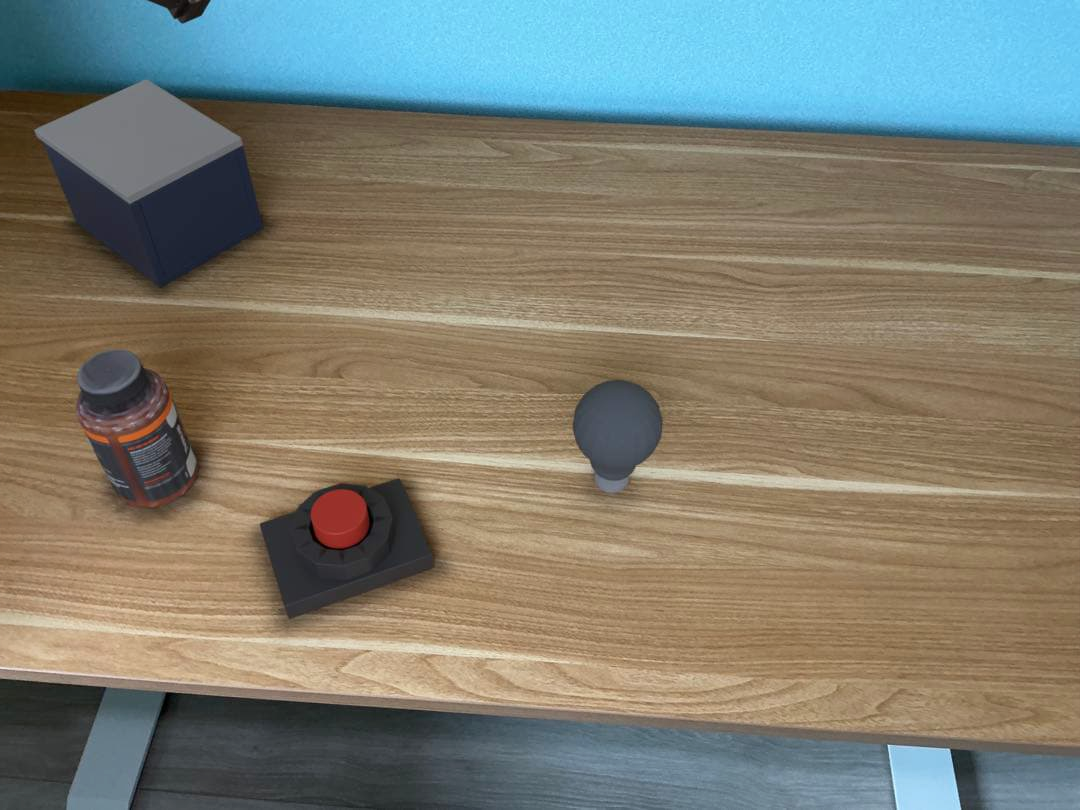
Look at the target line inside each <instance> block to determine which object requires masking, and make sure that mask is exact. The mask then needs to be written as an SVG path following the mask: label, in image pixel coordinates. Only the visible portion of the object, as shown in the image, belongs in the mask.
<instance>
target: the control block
mask: <svg viewBox="0 0 1080 810" xmlns="http://www.w3.org/2000/svg"><path fill="white" fill-rule="evenodd" d="M338 489H346V490H351V491H354V492H356V493H357V494H359V495H360V496H361V497H362V498H363V499H364V501H365V503H366V506H367V511H368V516H369V522H370V523H369V529H368V532H367V534H366V535H365V537H364V538H363V539H362V540H361V541H360V542H358V543H357V544H355V545H353V546H351V547H348V548H343V549H335V548H330V547H327V546H325V545H324V544H322V543H321V542H320V541H319V540H318V539H317V537H316V535H315V531H314V528H313V524H312V520H311V510H312V507H313V505H314V503H315V502H316V500H317V499H318V498H319V497H321V496H322V495H324V494H325V493H327V492H330V491H333V490H338ZM259 528H260V530H261V534H262V537H263V540H264V544H265V547H266V551H267V553H268V557H269V561H270V563H271V567H272V570H273V574H274V577H275V580H276V583H277V587H278V591H279V593H280V598H281V599H282V604H283V607H284V610H285V613H286V615H287V618H288V619H289V620H291V619H294V618H297V617H301V616H303V615H305V614H308V613H311V612H313V611H317V610H320V609H322V608H326V607H328V606H331V605H334V604H336V603H340V602H342V601H345V600H348V599H351V598H353V597H357V596H359V595H362V594H364V593H367V592H370V591H373V590H376V589H378V588H382V587H384V586H387V585H390V584H394V583H395V582H400V581H401V580H404V579H407V578H410V577H412V576H416V575H418V574H421V573H423V572H427V571H430V570H433V569H434V568H435V561H434V554H433V552H432V549H431V547H430V545H429V542H428V539H427V538H426V535H425V532H424V530H423V528H422V526H421V523H420V521H419V519H418V516H417V515H416V512H415V509H414V507H413V505H412V502H411V500H410V498H409V495H408V493H407V491H406V488H405V486H404V484H403V482H402V479H401V478H400V477H397V478H395V479H391V480H389V481H385V482H382V483H379V484H376V485H373V486H367V485H365V484H355V483H345V482H341V483H336V484H333V485H330V486H327V487H325V488H321V489H318V490H316V491H314V492H313V493H312V494H311V495H309V497H307V498H306V499H305V500H304V501H303V502H302V503H300V504H299V505H298V506H297V507H296V510H295V511H293V512H290V513H287V514H283V515H282V516H277V517H275V518H271V519H269V520H268V519H267V520H265V521H263V522H260V523H259Z"/></svg>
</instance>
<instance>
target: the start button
mask: <svg viewBox="0 0 1080 810" xmlns="http://www.w3.org/2000/svg"><path fill="white" fill-rule="evenodd" d="M311 520H312V524H313V528H314V531H315V535H316V537H317V539H318V540H319V541H320V542H321V543H322V544H324V545H325V546H327V547H330V548H335V549H343V548H348V547H351V546H353V545H355V544H357V543H358V542H360V541H361V540H362V539H363V538H364V537H365V535H366V534H367V532H368V529H369V523H370V522H369V516H368V511H367V506H366V503H365V501H364V499H363V498H362V497H361V496H360V495H359V494H357V493H356V492H354V491H351V490H346V489H338V490H333V491H330V492H327V493H325V494H324V495H322V496H321V497H319V498H318V499H317V500H316V502H315V503H314V505H313V507H312V510H311Z"/></svg>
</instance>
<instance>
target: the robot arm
mask: <svg viewBox="0 0 1080 810" xmlns="http://www.w3.org/2000/svg"><path fill="white" fill-rule="evenodd" d="M146 1H147V2H150V3H152V4H155V5H157V6H160V7H162V8H164V9H167V11H168V12H169V14H170V15H171V16H172V18H173V20H178V22H179V23H180V24H183V25H184V24H186V23H188V22H190V21H192V20H195V19H197V18H200V17H202V16H203V14H204V12H205V11H206V9H207V7H208V6H209V4H210V3H211V1H212V0H146Z"/></svg>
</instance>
